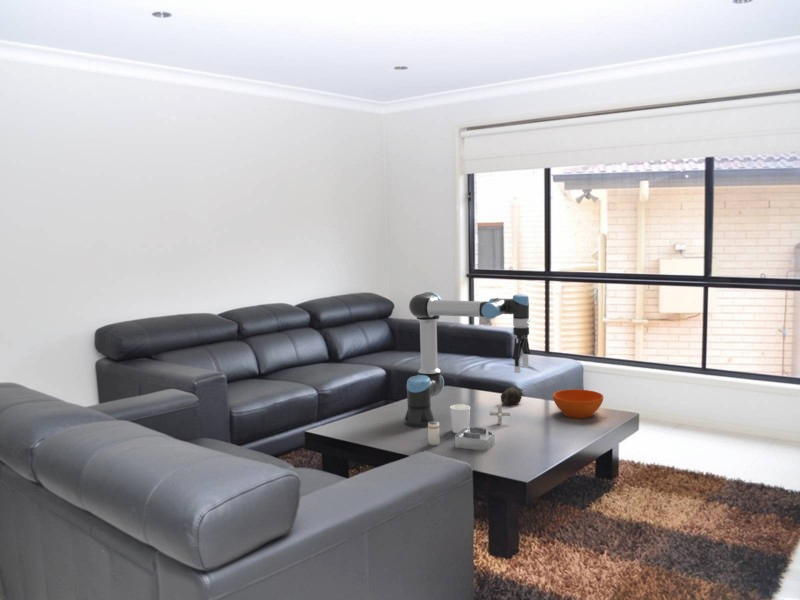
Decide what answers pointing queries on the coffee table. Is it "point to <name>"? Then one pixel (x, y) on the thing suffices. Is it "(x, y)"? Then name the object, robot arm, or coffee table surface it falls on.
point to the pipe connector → (500, 413)
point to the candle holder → (460, 417)
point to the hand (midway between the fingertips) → (521, 369)
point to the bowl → (578, 402)
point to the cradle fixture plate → (475, 439)
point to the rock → (511, 396)
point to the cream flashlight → (433, 433)
